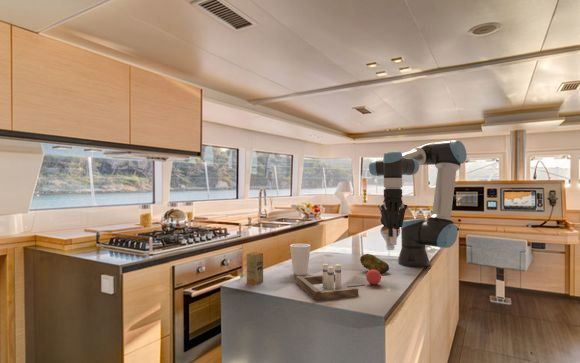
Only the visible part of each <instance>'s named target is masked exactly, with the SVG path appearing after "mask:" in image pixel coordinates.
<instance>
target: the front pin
mask: <svg viewBox="0 0 580 363" xmlns="http://www.w3.org/2000/svg"><path fill="white" fill-rule="evenodd" d="M334 275H335V281H334V289H335V290H338V289H342V264H340V263H339V264H338V263H337V264H335V265H334Z"/></svg>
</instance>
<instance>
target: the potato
mask: <svg viewBox="0 0 580 363" xmlns="http://www.w3.org/2000/svg"><path fill="white" fill-rule="evenodd" d="M359 260H360V264H361V265H362V266H363V268H365V269H367V270H368V271H369V270H372V269H374V270H377V271H378V272H379V273H380V274H383V273H387V272H388V271H389V270H390V267H389V266H390V265H389V264H388V263H387V262H386V261H384V260H381V259H380V258H378V257H377V256H375V255H374V254H371V253H365V254H363V255H361V256H360V258H359Z"/></svg>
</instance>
